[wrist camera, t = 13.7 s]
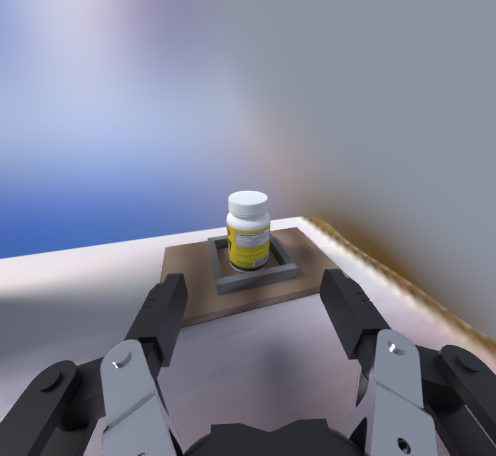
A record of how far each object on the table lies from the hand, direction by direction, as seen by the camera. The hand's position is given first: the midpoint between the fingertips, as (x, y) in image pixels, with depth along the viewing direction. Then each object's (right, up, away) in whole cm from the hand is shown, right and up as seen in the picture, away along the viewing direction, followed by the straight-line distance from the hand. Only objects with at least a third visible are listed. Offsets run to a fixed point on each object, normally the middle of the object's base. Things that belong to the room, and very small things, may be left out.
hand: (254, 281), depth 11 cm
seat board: (0, -2, +13) cm, 13 cm away
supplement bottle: (0, -1, +12) cm, 13 cm away
